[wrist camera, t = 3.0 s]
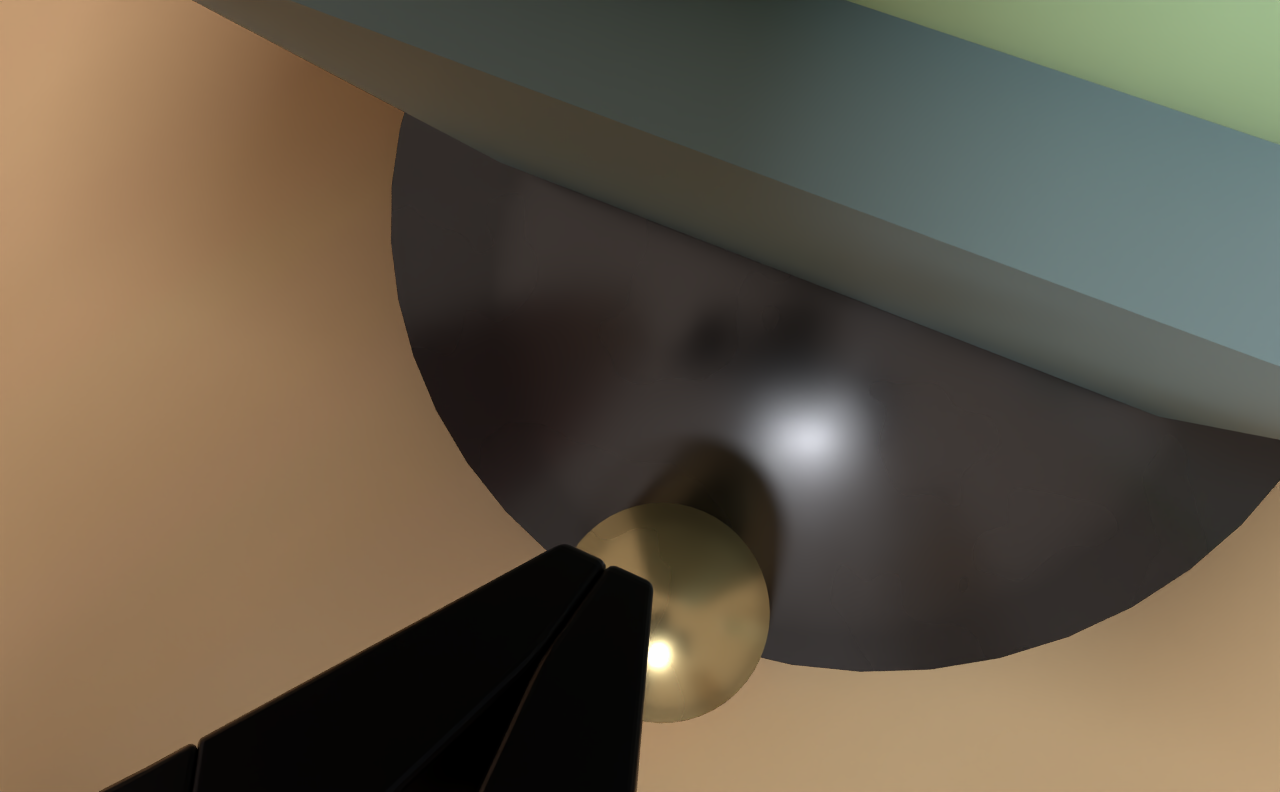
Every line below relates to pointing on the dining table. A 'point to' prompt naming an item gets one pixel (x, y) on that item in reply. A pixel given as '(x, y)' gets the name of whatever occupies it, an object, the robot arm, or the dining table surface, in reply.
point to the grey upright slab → (899, 156)
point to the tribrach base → (781, 442)
